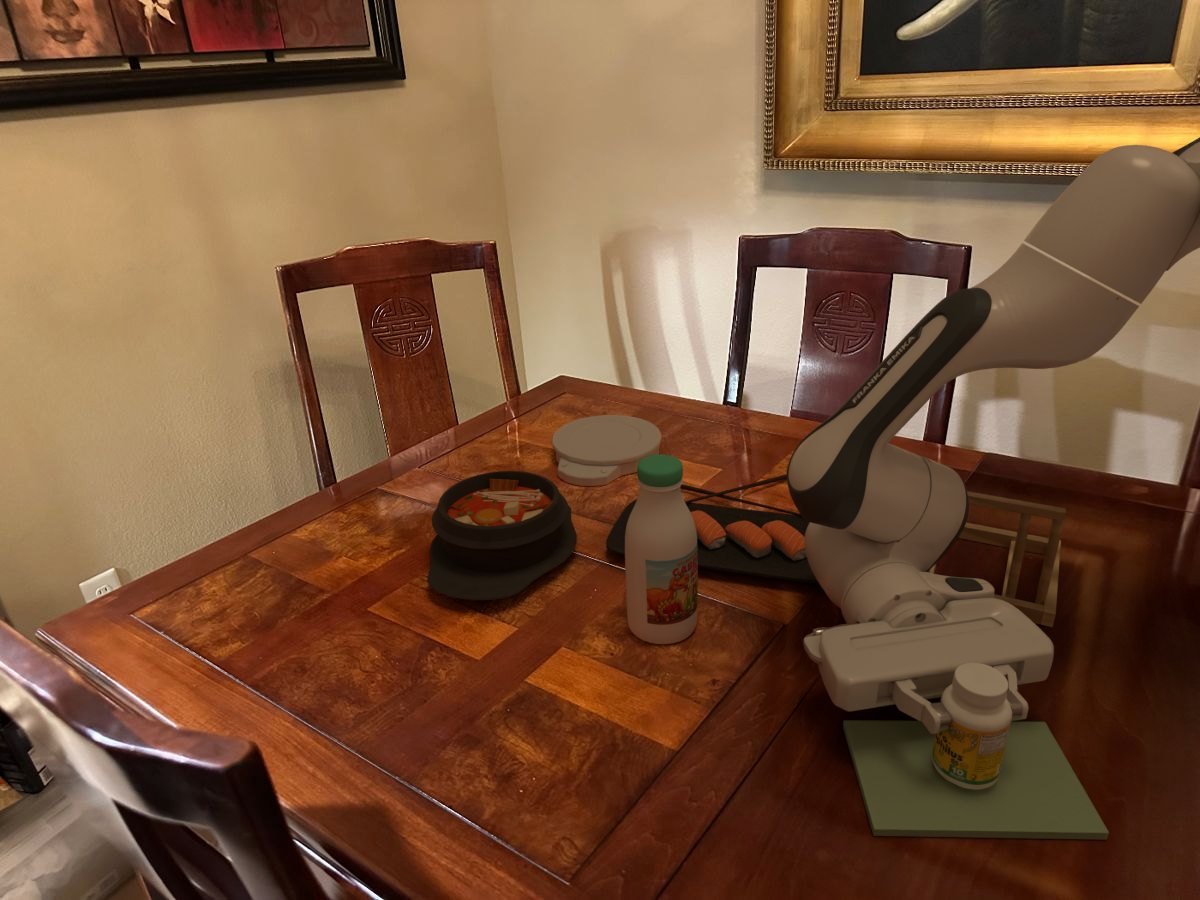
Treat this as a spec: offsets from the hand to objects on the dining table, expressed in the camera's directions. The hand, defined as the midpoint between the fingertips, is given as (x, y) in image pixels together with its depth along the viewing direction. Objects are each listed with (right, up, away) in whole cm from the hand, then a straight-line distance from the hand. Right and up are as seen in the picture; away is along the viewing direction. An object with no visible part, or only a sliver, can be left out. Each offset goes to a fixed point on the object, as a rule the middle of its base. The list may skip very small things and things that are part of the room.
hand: (981, 720), depth 68 cm
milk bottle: (-24, +2, +25) cm, 35 cm away
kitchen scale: (-30, +21, +64) cm, 73 cm away
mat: (0, -6, +4) cm, 7 cm away
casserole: (-43, +8, +39) cm, 59 cm away
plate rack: (+13, +8, +32) cm, 35 cm away
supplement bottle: (0, -5, +4) cm, 6 cm away
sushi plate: (-13, +13, +45) cm, 48 cm away
